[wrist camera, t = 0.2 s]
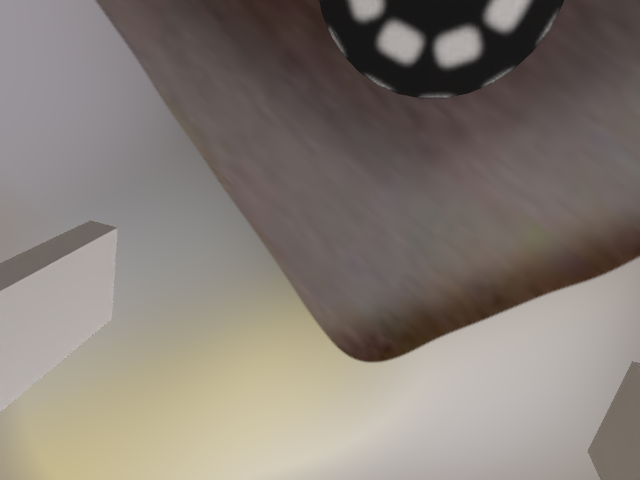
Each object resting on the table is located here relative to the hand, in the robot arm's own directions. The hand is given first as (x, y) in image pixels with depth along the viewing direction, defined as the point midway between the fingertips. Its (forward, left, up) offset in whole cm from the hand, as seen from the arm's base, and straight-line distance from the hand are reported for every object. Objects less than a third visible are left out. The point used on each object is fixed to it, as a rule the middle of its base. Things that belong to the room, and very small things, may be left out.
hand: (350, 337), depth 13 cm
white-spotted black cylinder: (-10, 0, -28) cm, 30 cm away
